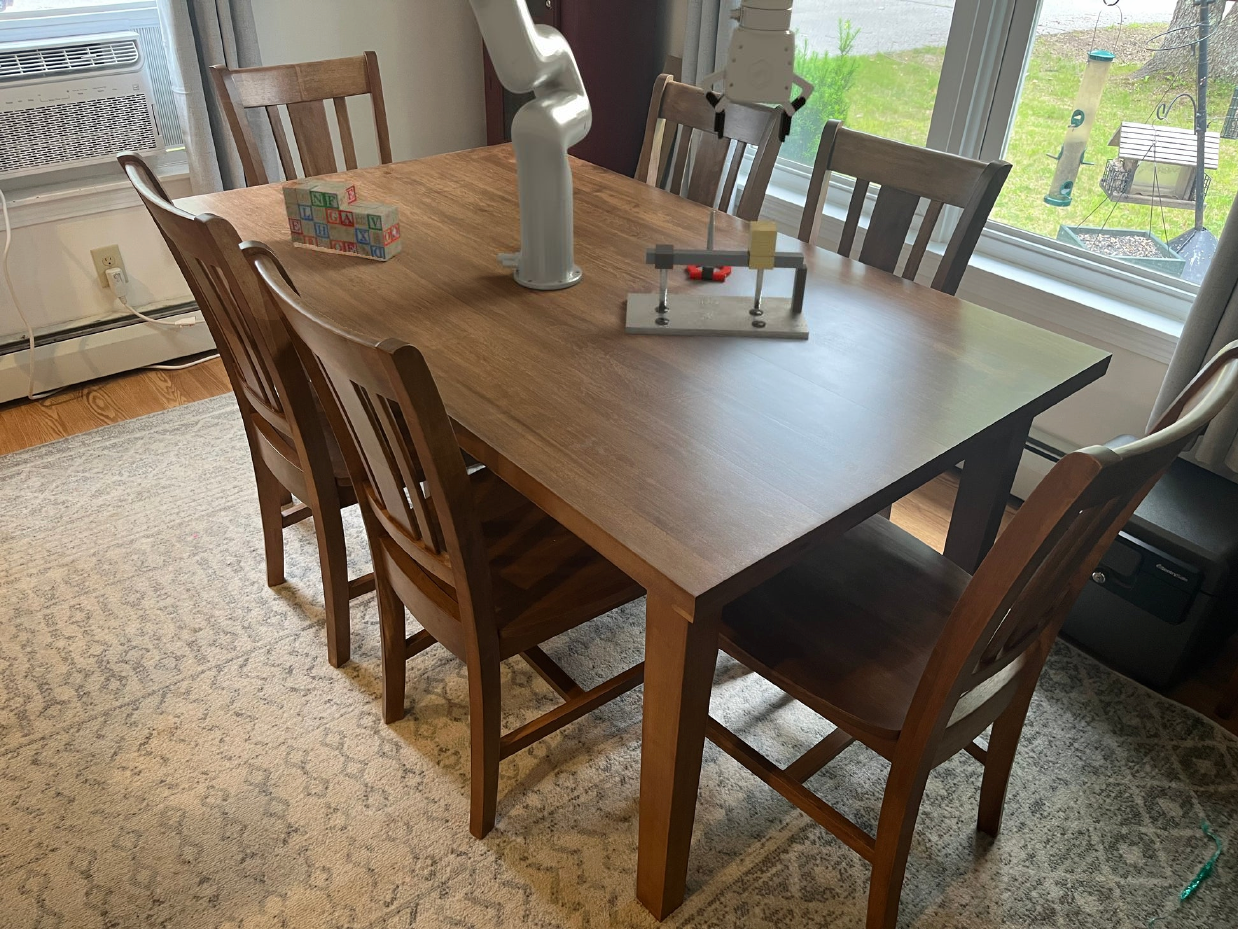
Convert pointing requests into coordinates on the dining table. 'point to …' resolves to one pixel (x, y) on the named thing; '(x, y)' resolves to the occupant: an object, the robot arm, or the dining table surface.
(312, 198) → the stack of blocks
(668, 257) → the beam
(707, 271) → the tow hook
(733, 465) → the dining table surface
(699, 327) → the hole plate
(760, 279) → the carriage
